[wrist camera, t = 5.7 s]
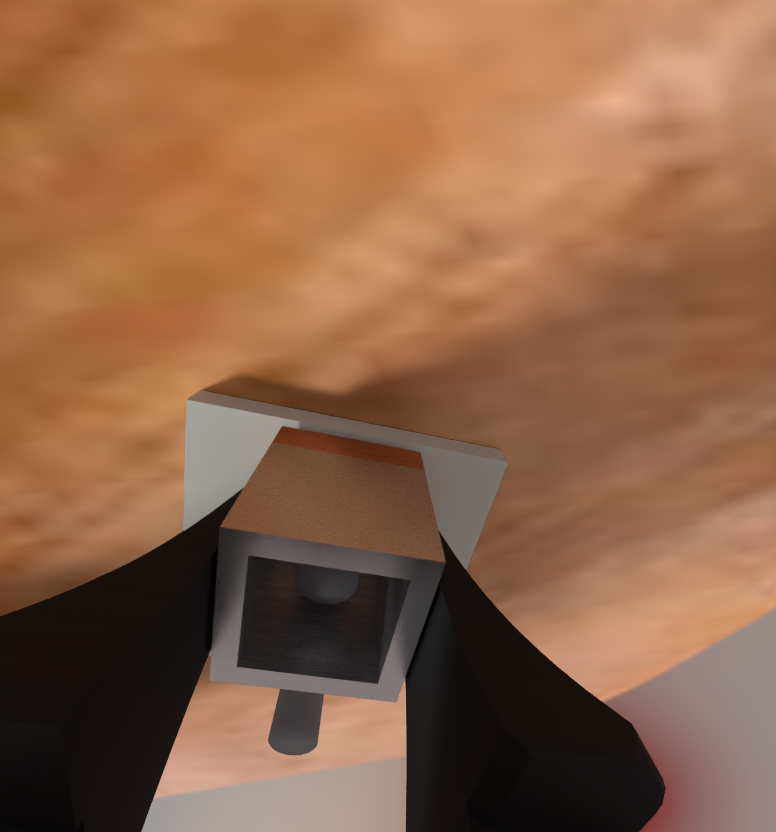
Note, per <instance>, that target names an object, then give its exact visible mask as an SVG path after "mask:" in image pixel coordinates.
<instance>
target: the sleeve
mask: <svg viewBox="0 0 776 832" xmlns="http://www.w3.org/2000/svg"><path fill="white" fill-rule="evenodd" d="M300 563H302V564H309V565H315V566H322V567H328V568H335V569H341V570H348V571H354V572H359V579H358V587H357V589H356V591H355V593H354V594H353V595H352V596H351V597H350V598H348V599H347V600H345V601H343V602H340V603H336V604H321V603H317V602H314V601H312V600H310V599H308V598H307V597H305V596H304V595H303V594H302V593H301V592H300V590H299V588H298V586H297V581H296V579H297V574H298V570H299V566H300ZM445 564H446V561H445V556H444V552H443V548H442V543H441V539H440V535H439V530H438V526H437V522H436V517H435V513H434V508H433V504H432V500H431V495H430V491H429V487H428V482H427V478H426V474H425V469H424V465H423V461H422V456H421V452H418V451H413V450H407V449H402V448H397V447H392V446H386V445H381V444H376V443H370V442H365V441H360V440H355V439H349V438H344V437H339V436H334V435H328V434H323V433H318V432H312V431H307V430H302V429H297V428H291V427H286V426H282V427H281V429H280V430H279V432H278V434H277V435H276V437H275V438H274V440H273V442H272V443H271V445H270V446H269V448H268V450H267V451H266V453H265V455H264V456H263V458H262V459H261V461H260V463H259V464H258V466H257V467H256V469H255V471H254V472H253V474H252V476H251V477H250V479H249V480H248V482H247V484H246V485H245V487H244V488H243V490H242V492H241V493H240V495H239V497H238V498H237V500H236V501H235V503H234V505H233V506H232V508H231V509H230V511H229V513H228V514H227V516H226V518H225V519H224V521H223V522H222V524H221V526H220V531H219V546H218V561H217V576H216V591H215V605H214V620H213V635H212V650H211V665H210V680H209V681H218V682H226V683H235V684H244V685H252V686H261V687H269V688H278V689H286V690H295V691H303V692H312V693H320V694H329V695H337V696H346V697H354V698H363V699H372V700H380V701H389V702H397V699H398V696H399V693H400V690H401V687H402V685H403V682H404V679H405V676H406V673H407V671H408V668H409V665H410V662H411V659H412V657H413V654H414V651H415V648H416V645H417V643H418V640H419V637H420V634H421V631H422V629H423V626H424V623H425V620H426V617H427V615H428V612H429V609H430V606H431V603H432V601H433V598H434V595H435V592H436V589H437V587H438V584H439V581H440V578H441V575H442V573H443V570H444V567H445Z"/></svg>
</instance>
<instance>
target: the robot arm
mask: <svg viewBox="0 0 776 832" xmlns="http://www.w3.org/2000/svg"><path fill="white" fill-rule="evenodd" d="M242 490H243V488H242V489H241V490H240V491H238V492H237V493H236V494H234V495H233V496H232V497H231V498H229V499H228V500H227V501H225V502H224V503H223V504H221V505H220V506H219V507H217V508H216V509H215V510H213V511H212V512H211V513H209V514H208V515H206V516H205V517H203V518H202V519H201V520H199V521H198V522H196V523H195V524H194V525H192V526H191V527H189V528H188V529H186V530H184V531H183V532H181V533H180V534H178V535H177V536H175V537H173V538H172V539H170V540H169V541H167V542H166V543H164V544H162V545H161V546H159V547H157V548H155V549H154V550H152V551H150V552H148V553H147V554H145V555H143V556H141V557H139V558H137V559H136V560H134V561H132V562H130V563H128V564H126V565H124V566H122V567H120V568H118V569H116V570H113V571H111V572H109V573H107V574H105V575H103V576H100V577H98V578H96V579H94V580H92V581H89V582H87V583H85V584H83V585H81V586H78V587H76V588H74V589H71V590H69V591H66V592H64V593H62V594H59V595H57V596H54V597H52V598H49V599H47V600H44V601H41V602H39V603H36V604H33V605H31V606H28V607H25V608H23V609H20V610H17V611H14V612H12V613H9V614H6V615H3V616H0V832H141V831H142V828H143V825H144V823H145V820H146V817H147V814H148V811H149V808H150V806H151V803H152V800H153V798H154V795H155V792H156V790H157V787H158V784H159V782H160V779H161V776H162V773H163V771H164V768H165V765H166V763H167V760H168V757H169V755H170V752H171V749H172V746H173V744H174V741H175V739H176V736H177V733H178V731H179V728H180V726H181V723H182V720H183V718H184V715H185V713H186V710H187V707H188V705H189V702H190V700H191V697H192V695H193V692H194V689H195V687H196V684H197V682H198V679H199V677H200V674H201V672H202V669H203V667H204V664H205V662H206V660H207V657H208V655H209V653H210V651H211V649H212V635H213V620H214V605H215V591H216V576H217V561H218V546H219V531H220V526H221V524H222V522H223V521H224V519H225V518H226V516H227V514H228V513H229V511H230V509H231V508H232V506H233V505H234V503H235V501H236V500H237V498H238V497H239V495H240V493H241V492H242ZM439 535H440V539H441V543H442V548H443V552H444V556H445V561H446V564H445V567H444V570H443V573H442V575H441V578H440V581H439V584H438V587H437V589H436V592H435V595H434V598H433V601H432V603H431V606H430V609H429V612H428V615H427V617H426V620H425V623H424V626H423V629H422V631H421V634H420V637H419V640H418V643H417V645H416V648H415V651H414V654H413V657H412V659H411V662H410V665H409V668H408V671H407V673H406V676H405V682H406V725H407V786H406V790H407V791H406V832H639V831H640V830H641V829H642V828H643V827H644V826H645V824H647V823H648V821H649V820H650V819H651V818H652V817H653V816H654V815H655V814H656V812H657V811H658V810H659V808H660V807H661V805H662V803H663V798H664V793H665V785H664V782H663V778H662V777H661V775H660V773H659V771H658V769H657V768H656V766H655V764H654V762H653V760H652V759H651V757H650V755H649V753H648V752H647V750H646V748H645V746H644V744H643V742H642V741H641V739H640V737H639V735H638V734H637V732H636V730H635V729H634V727H633V725H632V724H631V723H630V722H629V721H627V720H626V719H624V718H623V717H622V716H620V715H619V714H618V713H617V712H615V711H614V710H612V709H611V708H610V707H608V706H607V705H606V704H604V703H603V702H602V701H600V700H599V699H598V698H596V697H595V696H593V695H592V694H591V693H589V692H588V691H587V690H585V689H584V688H583V687H582V686H580V685H579V684H578V683H577V682H575V681H574V680H573V679H572V678H571V677H569V676H568V675H567V674H566V673H565V672H563V671H562V670H561V669H560V668H558V667H557V666H556V665H555V664H554V663H553V662H552V661H550V660H549V659H548V658H547V657H546V656H545V655H544V654H542V653H541V652H540V651H539V650H538V649H537V648H536V647H535V646H534V645H533V644H532V643H531V642H530V641H529V640H528V639H526V638H525V637H524V636H523V635H522V634H521V633H520V632H519V631H518V630H517V629H516V628H515V627H514V626H513V625H512V624H511V623H510V622H509V621H508V620H507V618H506V617H505V616H504V615H503V614H502V613H501V612H500V611H499V610H498V609H497V608H496V606H495V605H494V604H493V603H492V602H491V601H490V600H489V599H488V597H487V596H486V595H485V594H484V593H483V591H482V590H481V589H480V588H479V586H478V585H477V584H476V583H475V581H474V580H473V579H472V577H471V576H470V575H469V573H468V572H467V571H466V569H465V568H464V567H463V565H462V564H461V563H460V561H459V560H458V558H457V557H456V555H455V554H454V552H453V551H452V550H451V548H450V547H449V545H448V543H447V542H446V540H445V539H444V537H443V536H442V534H441V533H440V531H439Z"/></svg>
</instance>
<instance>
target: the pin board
mask: <svg viewBox="0 0 776 832" xmlns="http://www.w3.org/2000/svg"><path fill="white" fill-rule="evenodd" d="M282 426H286V427H291V428H297V429H302V430H307V431H312V432H318V433H323V434H328V435H334V436H339V437H344V438H349V439H355V440H360V441H365V442H370V443H376V444H381V445H386V446H392V447H397V448H402V449H407V450H413V451H418V452H421V456H422V461H423V465H424V469H425V474H426V478H427V482H428V487H429V491H430V495H431V500H432V504H433V508H434V513H435V517H436V522H437V526H438V530H439V531H440V533H441V534H442V536H443V537H444V539H445V540H446V542H447V543H448V545H449V547H450V548H451V550H452V551H453V552H454V554H455V555H456V557H457V558H458V560H459V561H460V563H461V564H462V565H463V567H464V568H465V569H466V570H467V568H468V565H469V563H470V560H471V558H472V555H473V553H474V550H475V547H476V545H477V542H478V540H479V537H480V535H481V532H482V529H483V527H484V524H485V522H486V519H487V517H488V514H489V512H490V509H491V506H492V504H493V501H494V499H495V496H496V494H497V491H498V489H499V486H500V483H501V481H502V478H503V476H504V473H505V471H506V468H507V466H508V463H509V462H508V460H507V459H506V457H505V456H504V454H503V453H502V451H501V450H500V449H496V448H491V447H486V446H480V445H475V444H470V443H465V442H460V441H455V440H450V439H445V438H440V437H435V436H430V435H425V434H420V433H415V432H410V431H405V430H400V429H395V428H390V427H385V426H380V425H374V424H369V423H364V422H359V421H354V420H349V419H344V418H339V417H334V416H329V415H324V414H319V413H314V412H309V411H304V410H299V409H294V408H289V407H284V406H279V405H274V404H268V403H263V402H258V401H253V400H248V399H243V398H238V397H233V396H228V395H223V394H218V393H213V392H208V391H203V390H200V391H198V392H197V393H195V394H194V395H193V396H191V397H190V398H188V399H187V401H186V439H185V477H184V516H183V531H184V530H186V529H188V528H189V527H191V526H192V525H194V524H195V523H196V522H198V521H199V520H201V519H202V518H203V517H205V516H206V515H208V514H209V513H211V512H212V511H213V510H215V509H216V508H217V507H219V506H220V505H221V504H223V503H224V502H225V501H227V500H228V499H229V498H231V497H232V496H233V495H234V494H236V493H237V492H238V491H240V490H241V489H242V488H244V487H245V485H246V484H247V482H248V480H249V479H250V477H251V476H252V474H253V472H254V471H255V469H256V467H257V466H258V464H259V463H260V461H261V459H262V458H263V456H264V455H265V453H266V451H267V450H268V448H269V446H270V445H271V443H272V442H273V440H274V438H275V437H276V435H277V434H278V432H279V430H280V429H281V427H282ZM358 579H359V572H354V571H348V570H341V569H335V568H328V567H322V566H315V565H309V564H302V563H300V566H299V570H298V574H297V579H296V581H297V586H298V588H299V590H300V592H301V593H302V594H303V595H304V596H305V597H307V598H308V599H310V600H312V601H314V602H317V603H321V604H336V603H340V602H343V601H345V600H347V599H348V598H350V597H351V596H352V595H353V594H354V593H355V591H356V589H357V587H358ZM211 650H212V649H211ZM208 656H211V651H210V653H209V655H208ZM404 681H405V679H404ZM323 696H324V694H320V693H312V692H303V691H295V690H286V689H280V692H279V696H278V700H277V704H276V709H275V713H274V717H273V721H272V726H271V730H270V734H269V738H268V741H269V744H270V746H271V747H272V748H273V749H274V750H276V751H277V752H280V753H282V754H286V755H302V754H306V753H308V752H310V751H312V750H313V749H314V748H315V747H316V746H317V742H318V735H319V727H320V719H321V712H322V704H323Z"/></svg>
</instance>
